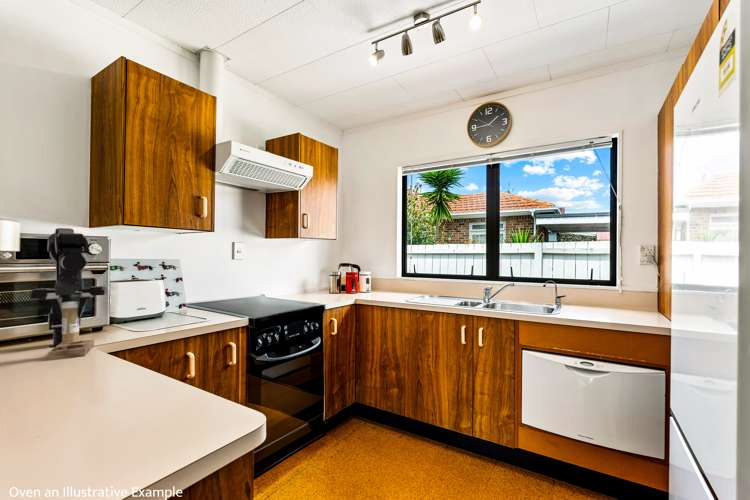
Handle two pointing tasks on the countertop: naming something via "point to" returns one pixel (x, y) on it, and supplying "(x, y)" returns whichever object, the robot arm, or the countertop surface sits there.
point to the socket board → (71, 349)
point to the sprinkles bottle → (70, 322)
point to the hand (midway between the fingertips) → (70, 318)
